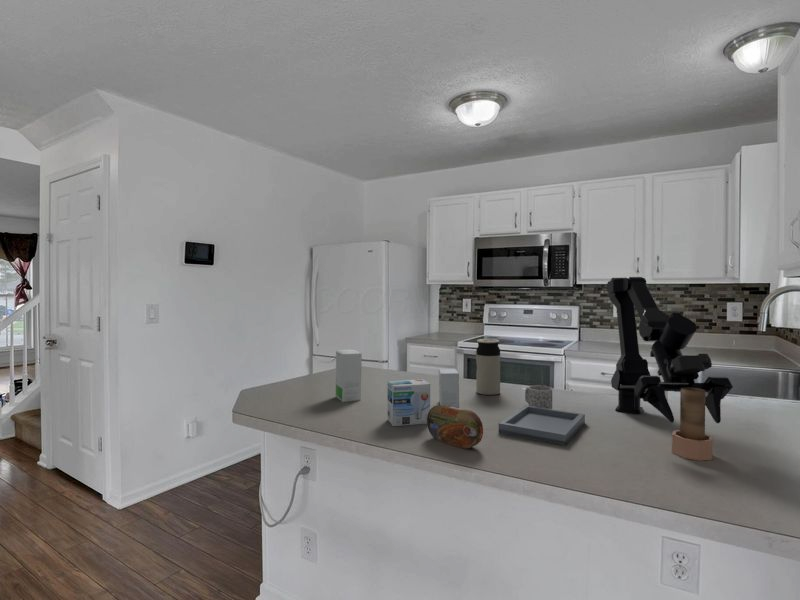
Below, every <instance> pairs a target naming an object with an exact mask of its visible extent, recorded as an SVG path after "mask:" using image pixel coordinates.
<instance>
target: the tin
mask: <svg viewBox="0 0 800 600" xmlns="http://www.w3.org/2000/svg"><path fill="white" fill-rule="evenodd" d="M426 426H427V429H428V432H429V433H430V436H432V438H433V439H435V440H436V441H438V442H440V443H444V444H448V445H451V446H454V447H458V448H460V449H471V448H473V447H475V446H477V445H478V444H479V443H481V441H482V439H483V435H484V428H483V427H484V426H483V422H482V420H481V418H480V417H479V415H478V414H477V413H475V412H474V411H472V410H469V409H465V408H460V407H459V408H456V407H452V406H447V405H440V404H439V405H435V406H433V407H430V411H429V413H428V416H427V424H426Z"/></svg>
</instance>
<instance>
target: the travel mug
mask: <svg viewBox="0 0 800 600" xmlns="http://www.w3.org/2000/svg"><path fill="white" fill-rule="evenodd" d="M476 341H477V345H478V346H477V348H476V350H475V351H476V353H475V354H476V362H475V363H476V365H475V366H476V377H475V379H476V384H475V385H476V389H475V390H476V391H475V392H477V393H478V394H479V395H484V396H496V395H498V394H500V393H501V349H500V347H499V344H500V340H499V339H493V338H482V339H481V338H480V339H477V340H476Z"/></svg>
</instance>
